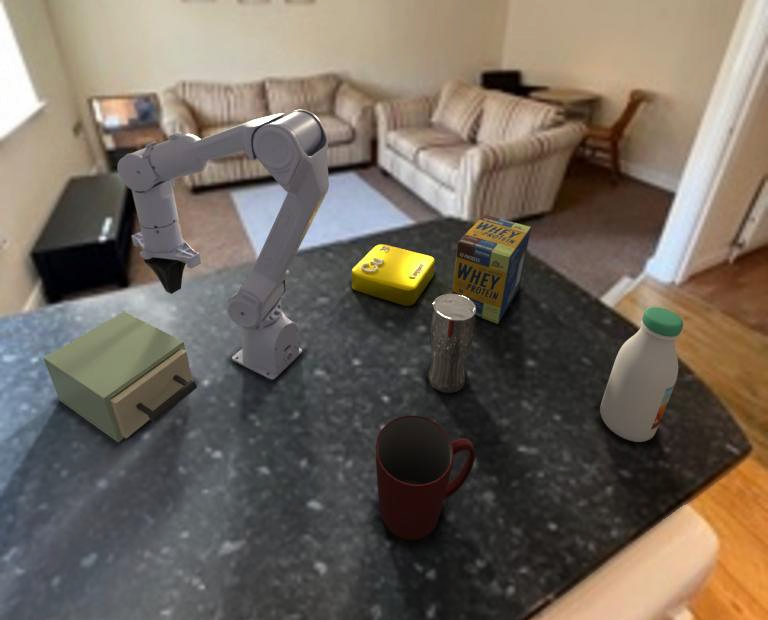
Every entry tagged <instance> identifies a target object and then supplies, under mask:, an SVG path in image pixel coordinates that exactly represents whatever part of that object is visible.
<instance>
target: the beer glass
mask: <svg viewBox="0 0 768 620" xmlns="http://www.w3.org/2000/svg"><path fill="white" fill-rule="evenodd" d="M476 317H477V316H476V306H475V304H474V303H473V302H472V301H471V300H470V299H468V298H467V297H464V296H462V295H458V294H452V293H445V294H442V295H439V296H438V297H436V298H435V299H434V301H433V303H432V310H431V314H430V322H429V323H430V324H429V343H430V352H431V357H432V358H431V365H430V368H429V371H428V375H427V379H428V382H429V384H430V386H431V387H432V388H433V389H435V390H437V391H438V392H441V393H444V394H453V393H456V392H458V391H460V390H462V389H463V387H464V385H465V382H466V375H465V364H466V361H467V358H468V356H469V353H470V350H471V348H472V344H473V342H474V336H475V330H476Z"/></svg>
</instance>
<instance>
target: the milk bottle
mask: <svg viewBox="0 0 768 620" xmlns="http://www.w3.org/2000/svg"><path fill="white" fill-rule="evenodd" d="M640 325H641V326H640V328H639V330H637V331H636V333H635V334H633V335H632V336H631V337H630V338H628V339H627V340H626V341H625V342H624V343H623V344H622V346H621V347H620V349H619V351H618V353H617V355H616V357H615V360H614V363H613V366H612V368H611V371H610V374H609V377H608V381H607V383H606V387H605V390H604V392H603V396H602V399H601V402H600V406H599V414H600V417H601V419H602V422H603V423H604V424H605V426H606V427H607V428H608V429H609V430H610V431H611V432H612V433H614V434H615V435H617V436H618V437H620V438H622V439H624V440H627V441H630V442H635V443H643V442H646V441H649V440H651V439H653V437H654V436H655V435H656V433H657V431H658V428H659V426H660V423H661V421H662V419H663V416H664V413H665V411H666V409H667V407H668V404H669V401H670V399H671V396H672V393H673V391H674V388H675V385H676V383H677V380H678V376H679V375H678V374H679V360H678V359H679V358H678V355H677V351H676V340H678V339H679V337H680V336H681V335H680V334H681V332H682V331H683V328H684V321H683V319H682V318H681V316H679V315H678V314H677V313H676V312H674V311H672V310H671V309H668V308H666V307H661V306H649V307H647V308H646V309H645V310H644V311H643V315H642V319H641V321H640Z"/></svg>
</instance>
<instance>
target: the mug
mask: <svg viewBox="0 0 768 620" xmlns="http://www.w3.org/2000/svg"><path fill="white" fill-rule="evenodd" d="M463 451H467V455H466V459H465V461H464V463H463V465H462V467H461V469H460V470H459V471H458V473H457V474H456V476H455V477H454V478H453V479H452V480H451V481H450V477H451V473H452V468H453V464H454V463H453V462H454V456H455V455H456V454H458V453H460V452H463ZM475 459H476V450H475V448H474V445H473V443H472V441H471V440H470V439H468V438H466V437H465V438H464V437H463V438H461V437H460V438H457V439H455V440H453V441H452V440H451V438H450V436H449V435H448V433H447V432H446V431H445V429H444V428H443V427H442V426H441V425H440V424H438V423H437V422H435V421H434V420H432V419H430V418H427V417H424V416H421V415H403V416H399V417H396V418H394V419H391V421H388V422H387V423H386V424H385V425H384V426H383V427H382V428H381V430H380V432H379V433H378V435H377V438H376V442H375V472H376V482H377V495H378V502H379V503H378V505H379V512H380V516H381V519H382V520H381V521H383V524H384V525H385V527H386V528H387V529H388V531H389V532H390V533H392V534H393V535H394V536H396V537H398V538H400V539H403V540H406V541H416V540H421V539H423V538H425V537H427V536H428V535H430V534H431V533H432V532H433V531H434V530H435V528H436V526H437V524H438V522H439V519H440V516H441V512H442V508H443V505H444V501H445V500H446V499H448V498H449V497H451V496H453V495H454V494H455V493H456V492H458V490H459V489H460V488H461V487H463V485H464V484H465V482H466V480H468V477H469V476H470V474H471V472H472V469H473V467H474V464H475Z"/></svg>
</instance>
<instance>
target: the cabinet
mask: <svg viewBox="0 0 768 620" xmlns="http://www.w3.org/2000/svg"><path fill="white" fill-rule="evenodd" d="M180 349H183V350H185V351H186V347H185V343H184V341H183V340H181V339H179V338H177V337H175V336H173V335H172V334H170V333H168V332H166V331H164V330H162V329H160V328H158V327H156V326H154V325H152V324H150V323H148V322H146V321H144V320H142V319H140V318H138V317H136V316H135V315H133V314H131V313H129V312H127V311H123V312H121V313H119V314H117V315H115V316H114V317H112V318H111V319H109V320H107V321H105V322H103V323H102V324H100V325H98V326H96V327H95V328H93V329H91V330H89V331H88V332H86V333H84V334H83V335H81V336H79V337H77V338H75V339H73V340H72V341H70V342H68V343H67V344H65V345H63V346H62V347H59V348H58V349H56V350H55V351H53V352H51V353H50V354H48V355H45V356H44V357H43V358H42V359H43V361H44V363H45V366H46V369H47V371H48V374H49V377H50V379H51V382H52V384H53V387H54V390H55V392H56V395H57V398H58V400H59V401H60V402H61V403H62V404H64V405H65V406H67V408H69V409H71V410H72V411H74V413H76V414H78V415H79V416H80V417H82V418H83V419H84V420H85V421H87V422H89V423H90V424H91V425H93V426H94V427H96V428H97V429H98V430H100V431H101V432H103V433H104V434H106V435H107V436H108V437H110V438H111V439H113V440H114V441H115V442H117V443H120V442H121V441H122V440H124V439H126V438H125V437H123V436H122V435H121V433H120V430H119V427H118V424H117V421H116V417H115V414H114V411H113V408H112V405H111V402H110V400H111V398H112V397H113V396H115V395H116V394H118V393H119V392H120V391H122V390H123V389H125V388H126V387H127V386H129V385H130V384H132V383H133V382H134V381H136V380H137V379H138V378H140V377H141V376H143V375H144V374H145V373H147V372H148V371H150V370H151V369H152V368H154V367H155V366H157V365H158V364H159V363H161V362H162V361H163V360H165V359H166V358H168V357H169V356H170V355H172V354H175V353H176V352H177V351H179V350H180Z"/></svg>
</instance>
